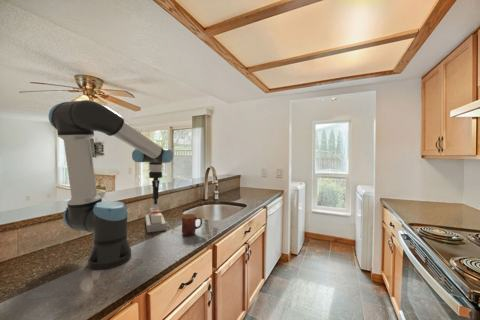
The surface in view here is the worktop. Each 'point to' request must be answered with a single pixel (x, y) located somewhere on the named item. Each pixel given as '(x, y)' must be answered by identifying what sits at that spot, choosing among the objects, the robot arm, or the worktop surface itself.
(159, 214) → the white key
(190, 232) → the mug
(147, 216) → the key panel
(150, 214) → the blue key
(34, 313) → the worktop surface
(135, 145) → the robot arm
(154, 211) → the red key
